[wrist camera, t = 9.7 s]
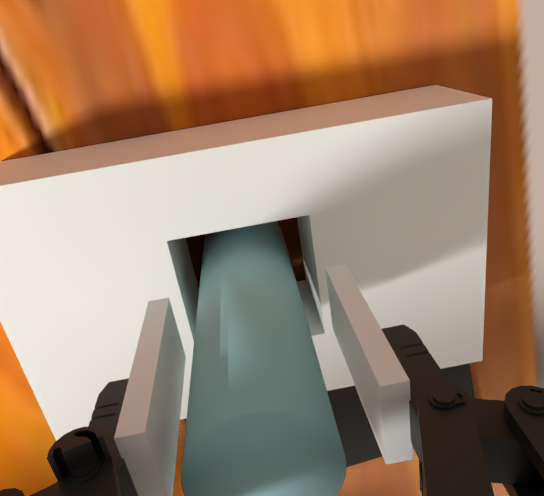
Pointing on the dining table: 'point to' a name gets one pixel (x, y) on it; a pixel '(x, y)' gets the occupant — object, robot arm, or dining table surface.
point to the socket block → (240, 213)
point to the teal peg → (256, 378)
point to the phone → (356, 424)
